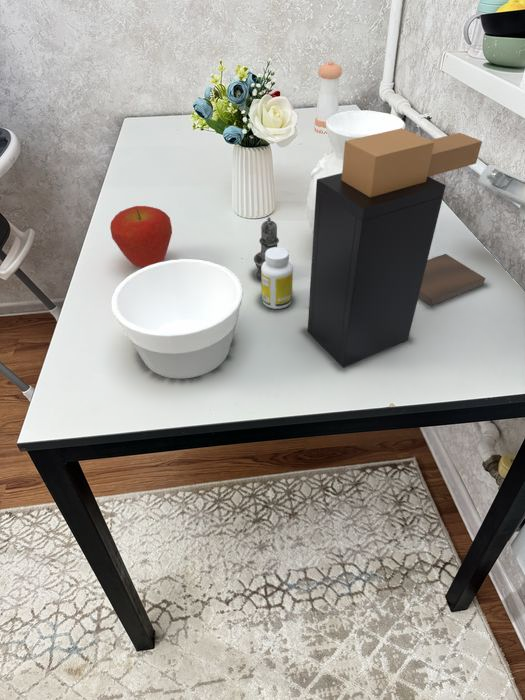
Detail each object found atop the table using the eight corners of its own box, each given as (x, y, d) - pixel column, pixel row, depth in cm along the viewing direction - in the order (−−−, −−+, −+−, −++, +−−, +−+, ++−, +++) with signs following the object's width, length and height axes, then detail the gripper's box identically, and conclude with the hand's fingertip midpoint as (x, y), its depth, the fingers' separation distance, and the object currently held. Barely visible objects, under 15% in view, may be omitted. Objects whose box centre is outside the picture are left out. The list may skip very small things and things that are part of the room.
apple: (118, 283, 93) (104, 225, 85) (122, 253, 101) (109, 198, 93) (177, 277, 94) (168, 219, 86) (176, 249, 102) (168, 193, 94)
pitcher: (393, 278, 92) (420, 143, 76) (297, 268, 96) (302, 135, 79) (396, 231, 106) (419, 107, 89) (311, 223, 109) (318, 102, 92)
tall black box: (408, 340, 79) (446, 185, 62) (342, 368, 75) (364, 209, 57) (369, 307, 86) (393, 159, 68) (307, 331, 81) (316, 179, 64)
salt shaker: (327, 124, 158) (332, 57, 146) (342, 131, 154) (348, 61, 141) (309, 129, 156) (313, 60, 143) (324, 135, 151) (328, 65, 138)
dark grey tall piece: (290, 271, 95) (291, 214, 87) (274, 286, 91) (274, 228, 83) (264, 263, 97) (263, 206, 89) (248, 277, 94) (245, 219, 85)
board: (483, 284, 91) (485, 278, 90) (430, 306, 86) (432, 299, 85) (443, 260, 97) (445, 253, 96) (392, 278, 93) (394, 271, 92)
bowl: (246, 310, 86) (243, 256, 79) (245, 389, 72) (242, 333, 64) (136, 312, 86) (124, 259, 79) (114, 393, 72) (96, 337, 64)
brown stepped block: (481, 166, 66) (493, 127, 63) (370, 197, 60) (376, 156, 56) (449, 152, 70) (458, 115, 67) (341, 180, 63) (344, 140, 60)
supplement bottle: (295, 295, 89) (297, 247, 82) (286, 312, 85) (288, 264, 79) (267, 289, 90) (266, 242, 84) (257, 306, 87) (256, 258, 80)
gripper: (512, 170, 92) (476, 144, 83) (617, 213, 78) (588, 188, 69) (491, 201, 94) (454, 179, 85) (590, 248, 81) (558, 228, 72)
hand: (515, 183), depth 77 cm, fingers open, 8 cm apart
